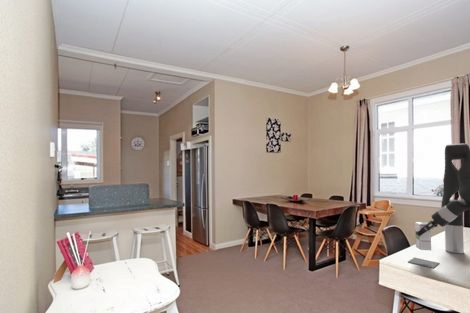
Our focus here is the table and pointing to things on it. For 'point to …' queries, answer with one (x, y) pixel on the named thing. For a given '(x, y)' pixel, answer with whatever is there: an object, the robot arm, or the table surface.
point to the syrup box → (422, 237)
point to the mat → (424, 262)
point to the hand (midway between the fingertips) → (420, 233)
